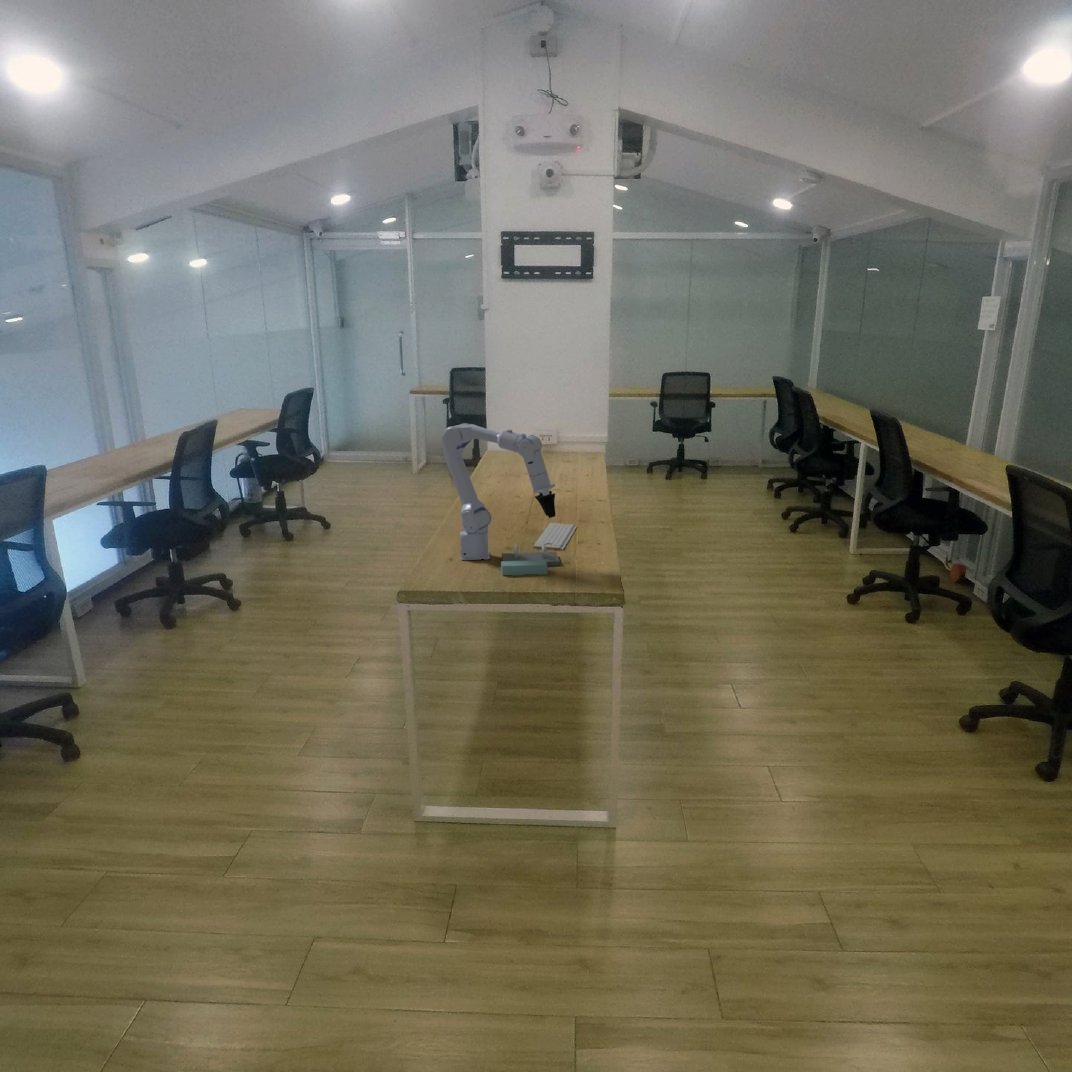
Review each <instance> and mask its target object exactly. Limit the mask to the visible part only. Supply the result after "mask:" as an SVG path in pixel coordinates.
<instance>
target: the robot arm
mask: <svg viewBox="0 0 1072 1072" xmlns="http://www.w3.org/2000/svg"><path fill="white" fill-rule="evenodd" d="M474 439H476V440H480V441H486V442H491V443H495V444H498V447H499V448H500V449H504V450H506V451H511V452H514V453H518V454H519V455H520V457H522V459H523V461H524V463H525V464H524V465H525V467H526V469H527V474H528V477H529V481H530V483H531V486H532V492H533V494H537V495H535V496H534V498H535V499H536V501H538V503H539V505H540V506H541V508H542V510H543V513H544V515H545V516H546V517H548V519H551V518H554V517H556V506H555V499H556V493H553V491H552V488H555V487H556V484H555V483H553V484H551V480H550V477H549V474H548V470H547V467H546V464H545V460H544V456H543V455H542V451H541V450H542V447H543V444H542V440H541V439H540V438H539V437H538V436H536V435H534V434H530V435H529V436H527V434H526V433H517V432H514V431H513V430H512V429H509V428H508V429H506V430H502V431H501V432H498V431H496V430H492V429H488V428H486V427H482V426H479V425H476V424H474V423H473V424H472V423H466V422H463V423H461V424H457V425H453V426H448V427H447V428H445V429H444V431H443V434H442V435H441V440H442V443H443V449H442V450H443V458H444V460H445V463H446V466H447V468H448V471H449V474H450V476H451V478H452V481H453V484H454V486H455V488H456V489H455V490H456V492H457V494H458V497H459V499H460V502H461V504H462V507H461V511H460V516H461V525H462V528H463V529H464V530H462V531H460V533H459V535H460V537H459V539H460V547H459V554H460V560H461V561H475V560H476V561H478V560H479V561H480V560H481V559H484V560H490V559H491V556H490V551H489V525H491V522H492V514H491V513H490V511H489V510H488V509H487V507H486V506H485V503H483V501H481V500H480V499H479V498H478V496H477V492H476V490H475V487H474V484H473V483H472V482H473V481H472V480H471V477H470V475H469V472H468V469H467V466H466V463H465V461H464V458H463V453H464V450H465V448H466V447H467V446H468V445H469V444H470V443H471V442H472V441H473V440H474Z"/></svg>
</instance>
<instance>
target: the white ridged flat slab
mask: <svg viewBox="0 0 1072 1072" xmlns="http://www.w3.org/2000/svg"><path fill="white" fill-rule="evenodd" d="M577 528H578V525H575V523H574V524H573V523H572V524H571V523H556V522H555V523H554V522H550V523H549V524H548V526H546V528H545V530H544V531H543V532H542V533H541V535H540V536H539V538H538V539H537V540H536V542H534V543H533V546H532V548H533V549H534V548H541V549H540V550H542V544H545V546H546V550H548V549H556V550H555V551H563V549H564V551H566V550H567V548H566V546H567V545H568V543H569V541H570V540H571V538H572V537H573V535H574V533H575V531H576V530H577ZM575 529H576V530H575ZM566 544H567V545H566Z"/></svg>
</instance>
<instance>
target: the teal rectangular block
mask: <svg viewBox="0 0 1072 1072" xmlns="http://www.w3.org/2000/svg"><path fill="white" fill-rule="evenodd" d="M500 572H501V576H502V575H512V576H520V575H519V574H538V575H548V566H547V563H546V560H530V561H502V560H501V561H500Z"/></svg>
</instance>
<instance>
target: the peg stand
mask: <svg viewBox="0 0 1072 1072" xmlns="http://www.w3.org/2000/svg"><path fill="white" fill-rule="evenodd" d="M513 548H514V550H513V551H514V552H509V553H508V552H507V553H506V552H505V553H501V559H502V560H501V561H530V560H546V563H547V567H559V566H560V558H559V557H558V553H557V552H556V551H547V549H546V546H545V544H542V549H541V551H539V552H538V551H537V552H535V551H534V552H533V551H532V552H520V551H519V549H520V548H519V544H517V543H516V544H514V547H513Z"/></svg>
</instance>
